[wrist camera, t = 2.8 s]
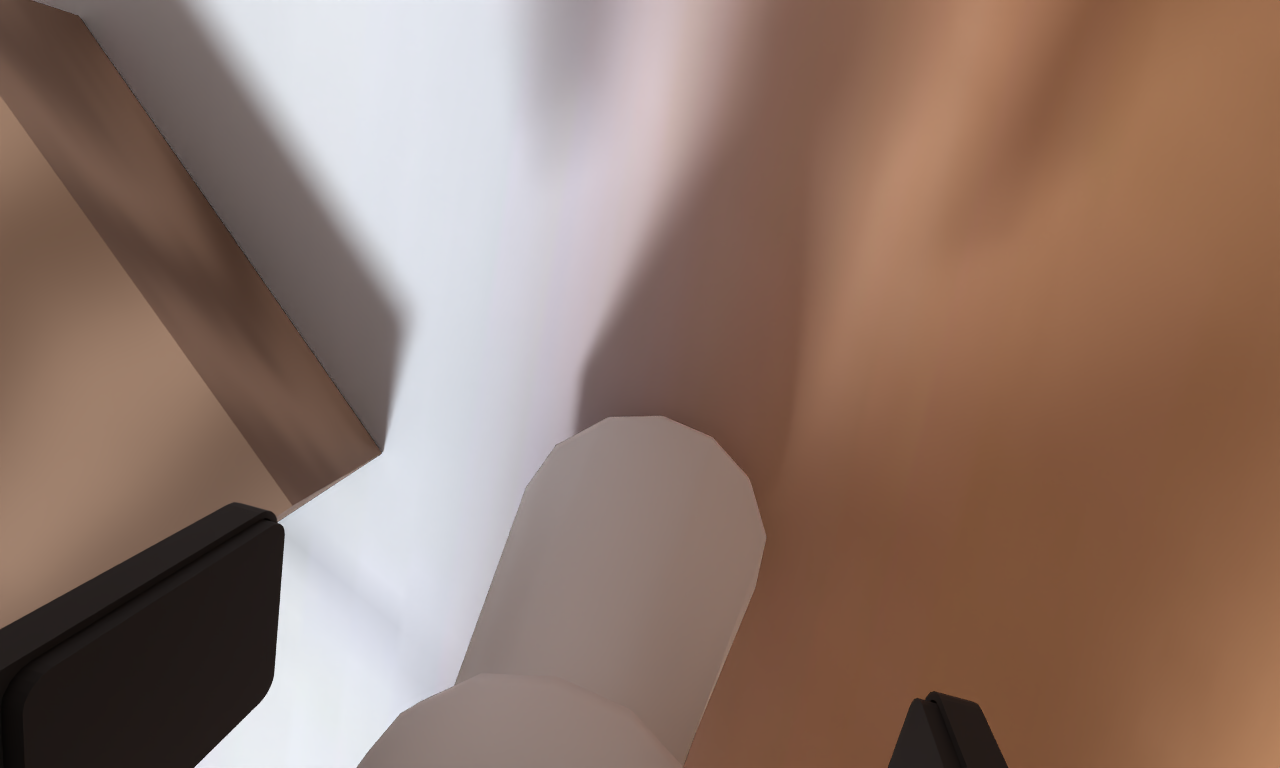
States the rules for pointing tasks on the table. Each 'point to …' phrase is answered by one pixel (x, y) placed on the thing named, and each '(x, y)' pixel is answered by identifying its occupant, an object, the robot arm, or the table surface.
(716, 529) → the salt shaker
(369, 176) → the table surface
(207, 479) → the walnut base
